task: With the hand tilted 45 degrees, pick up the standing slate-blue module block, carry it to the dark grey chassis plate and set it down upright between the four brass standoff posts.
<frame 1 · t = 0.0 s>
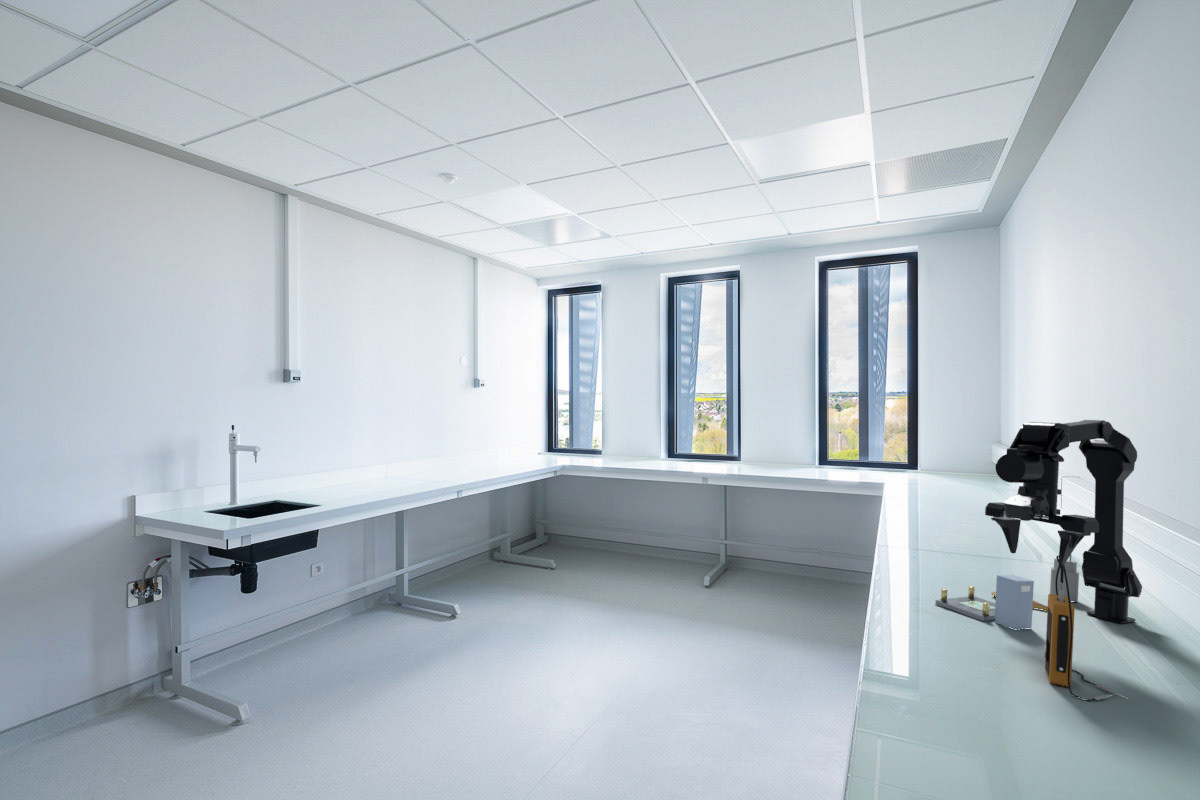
hand: (1036, 558, 121), 15 cm above the worktop, tool pointing down, fingers open, 9 cm apart
power adapter: (1063, 600, 145), on the worktop
chassis plate: (977, 610, 132), on the worktop
multimeter: (1085, 686, 95), on the worktop
module block: (1012, 626, 123), on the worktop
shard: (1021, 605, 140), on the worktop
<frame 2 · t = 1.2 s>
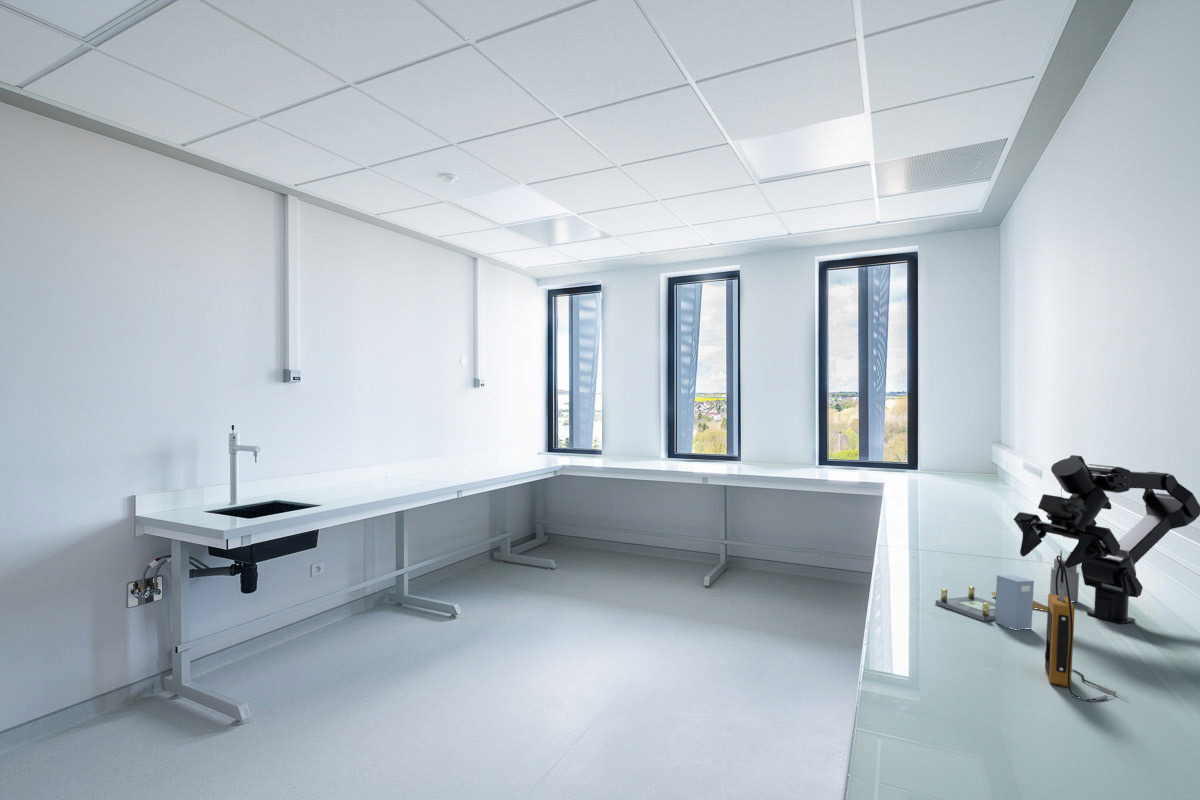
hand: (1043, 560, 125), 13 cm above the worktop, tool tilted 45°, fingers open, 9 cm apart
nothing on the worktop moved.
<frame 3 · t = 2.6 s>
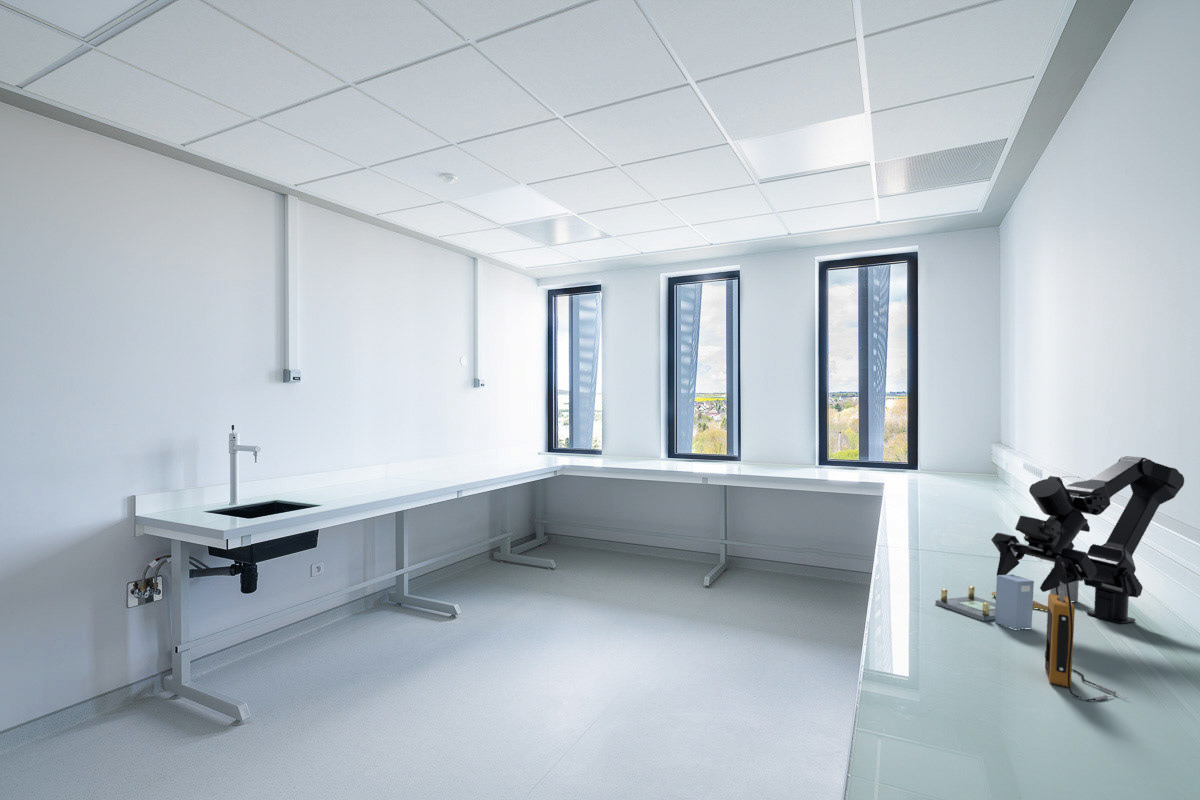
hand: (1019, 583, 123), 9 cm above the worktop, tool tilted 45°, fingers open, 9 cm apart
nothing on the worktop moved.
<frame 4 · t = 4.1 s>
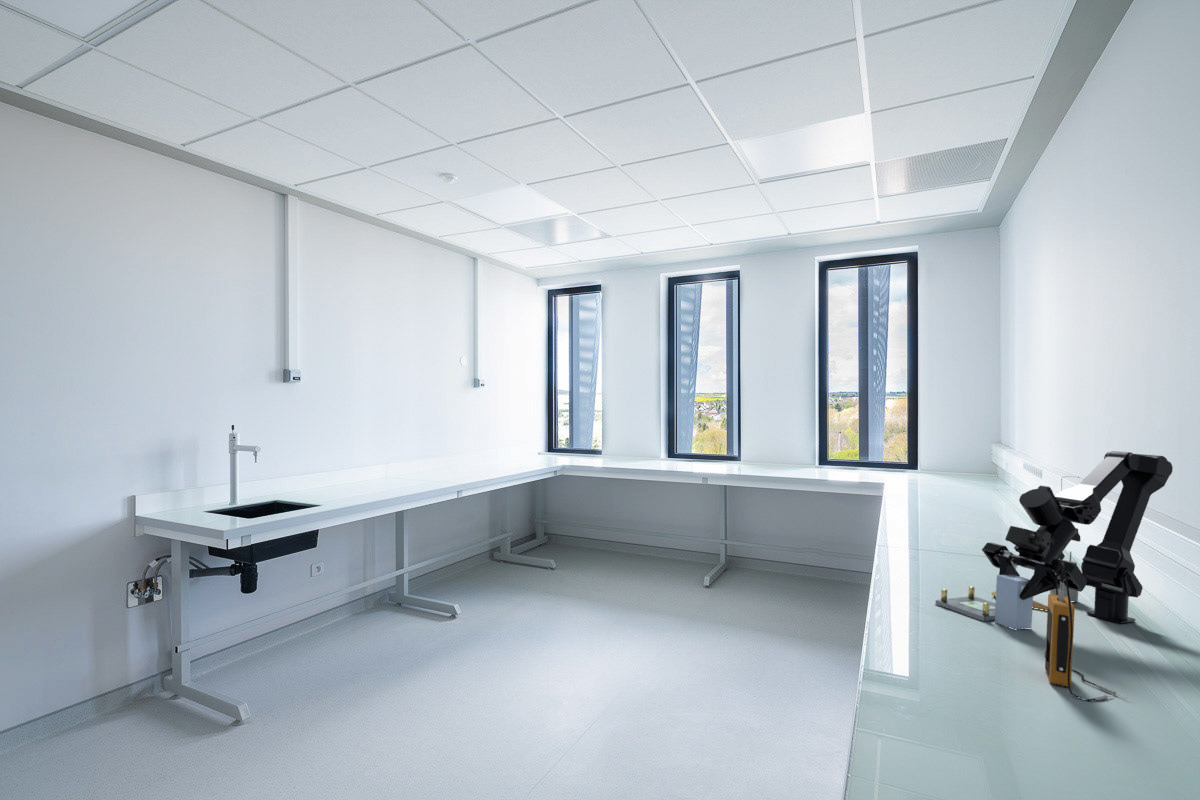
hand: (1009, 594, 122), 7 cm above the worktop, tool tilted 45°, fingers closed on module block, 5 cm apart
module block: (1012, 625, 123), on the worktop, touching gripper
everything else where it was.
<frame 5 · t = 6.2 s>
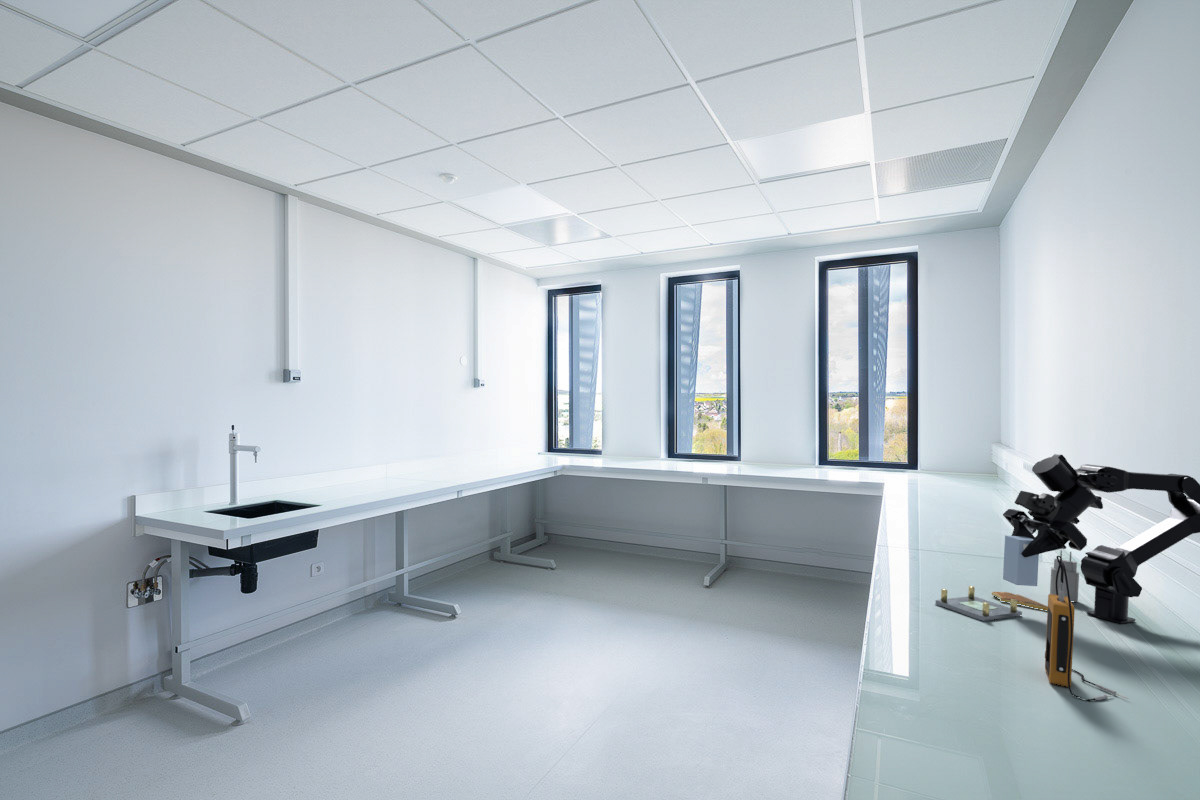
hand: (1015, 553, 132), 13 cm above the worktop, tool tilted 45°, fingers closed on module block, 5 cm apart
module block: (1019, 582, 132), point 7 cm above the worktop, touching gripper
everything else where it was.
when the fingers open (9 cm above the worktop, at t = 8.3 s): module block drops 1 cm, resting on chassis plate.
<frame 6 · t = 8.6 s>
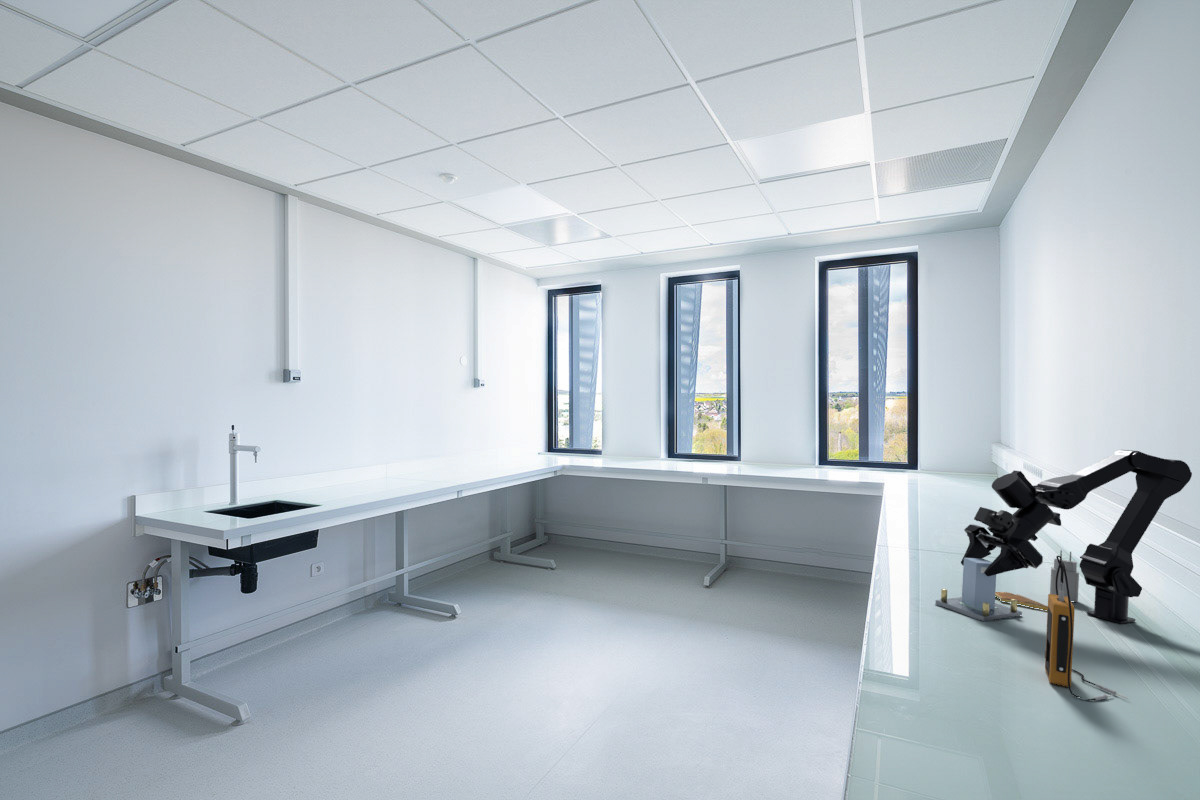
hand: (973, 569, 132), 9 cm above the worktop, tool tilted 45°, fingers open, 8 cm apart
module block: (977, 605, 132), point 1 cm above the worktop, touching chassis plate
everything else where it was.
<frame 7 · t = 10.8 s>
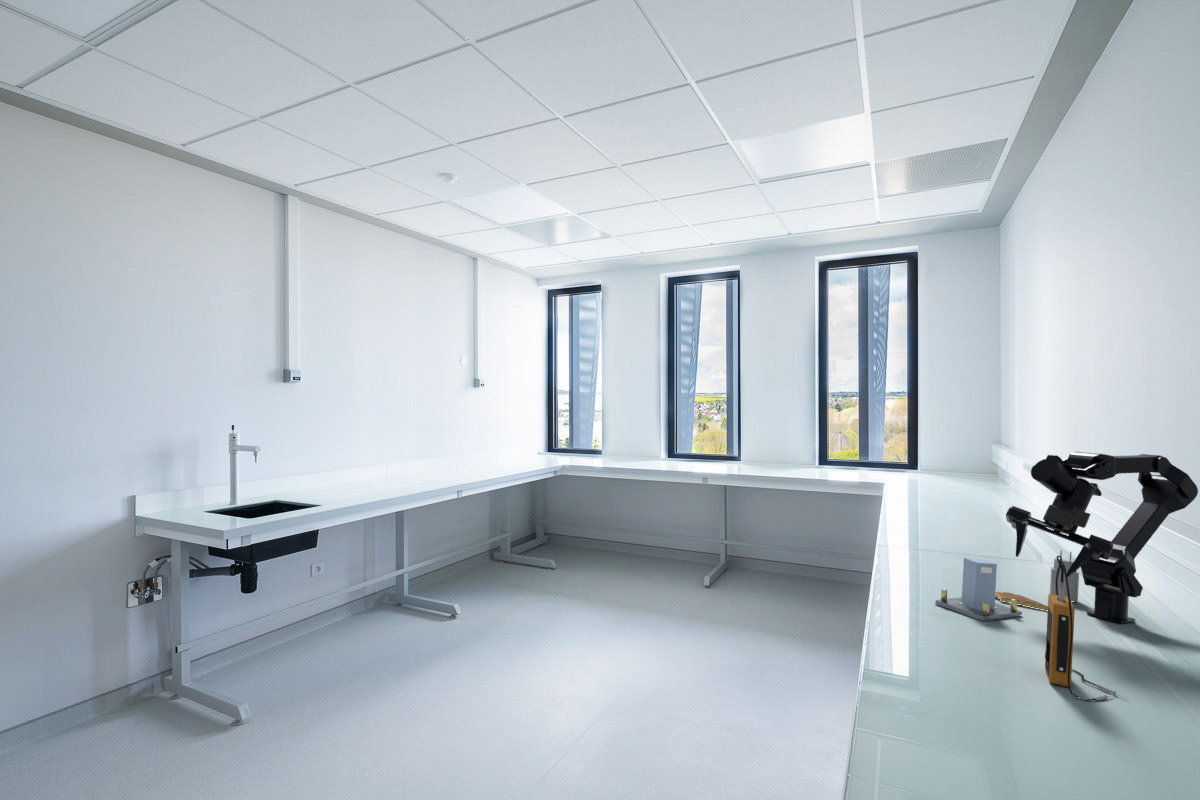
hand: (1041, 566, 127), 12 cm above the worktop, tool tilted 30°, fingers open, 9 cm apart
nothing on the worktop moved.
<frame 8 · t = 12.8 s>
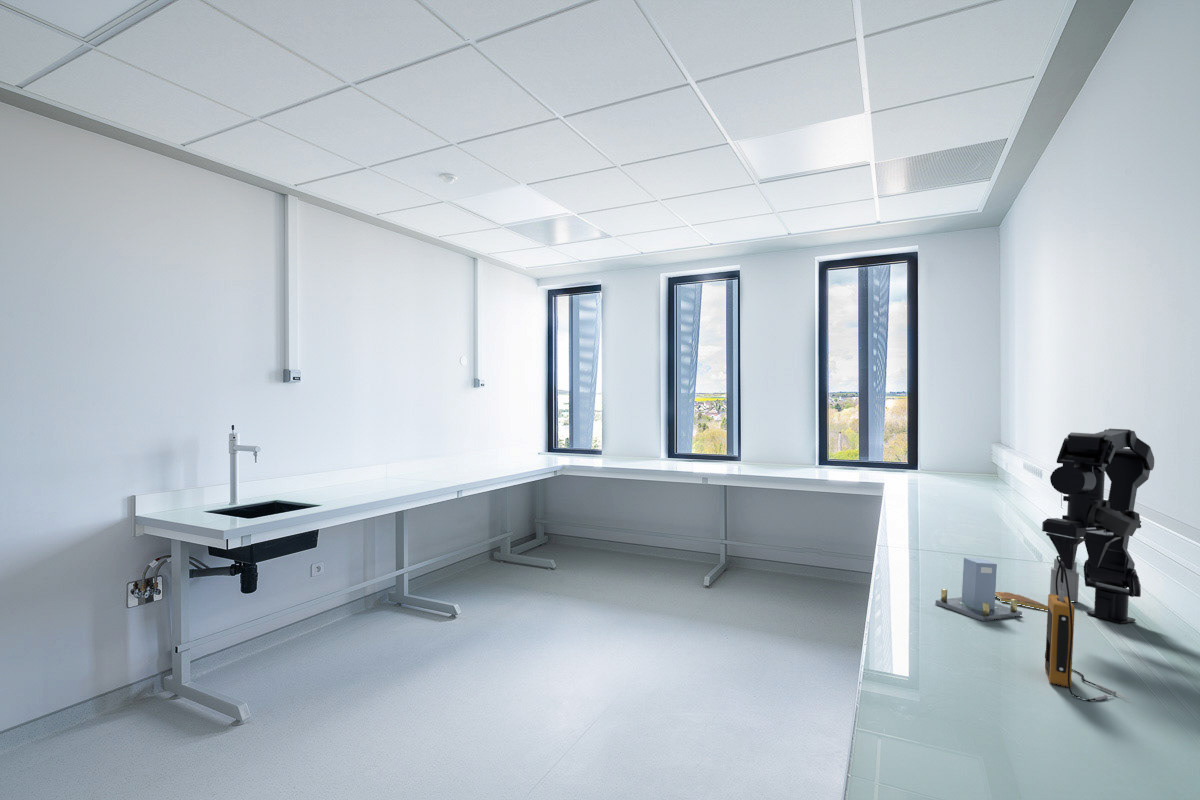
hand: (1082, 568, 122), 13 cm above the worktop, tool pointing down, fingers open, 9 cm apart
nothing on the worktop moved.
at the end: module block inside the target area on the chassis plate (0.0 cm from its centre), point 1.1 cm above the chassis plate's base; module block tilted 0°; the gripper is holding nothing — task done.
